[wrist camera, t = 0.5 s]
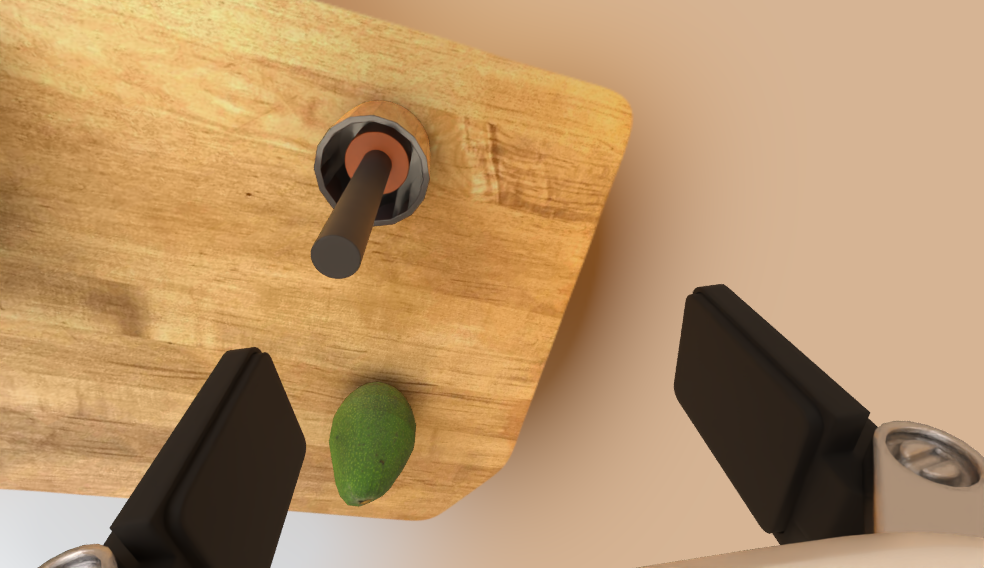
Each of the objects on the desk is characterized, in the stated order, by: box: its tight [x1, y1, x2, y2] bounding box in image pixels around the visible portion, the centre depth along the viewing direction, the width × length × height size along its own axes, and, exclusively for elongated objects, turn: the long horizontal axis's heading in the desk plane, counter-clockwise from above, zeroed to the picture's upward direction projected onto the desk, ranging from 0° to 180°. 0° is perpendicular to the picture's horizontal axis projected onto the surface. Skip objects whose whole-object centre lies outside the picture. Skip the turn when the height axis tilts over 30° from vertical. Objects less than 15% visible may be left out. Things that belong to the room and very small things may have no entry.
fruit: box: [329, 382, 416, 506], centre depth 42 cm, size 8×8×12 cm
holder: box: [314, 100, 431, 226], centre depth 33 cm, size 7×7×7 cm
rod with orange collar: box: [311, 122, 412, 279], centre depth 27 cm, size 4×4×19 cm
